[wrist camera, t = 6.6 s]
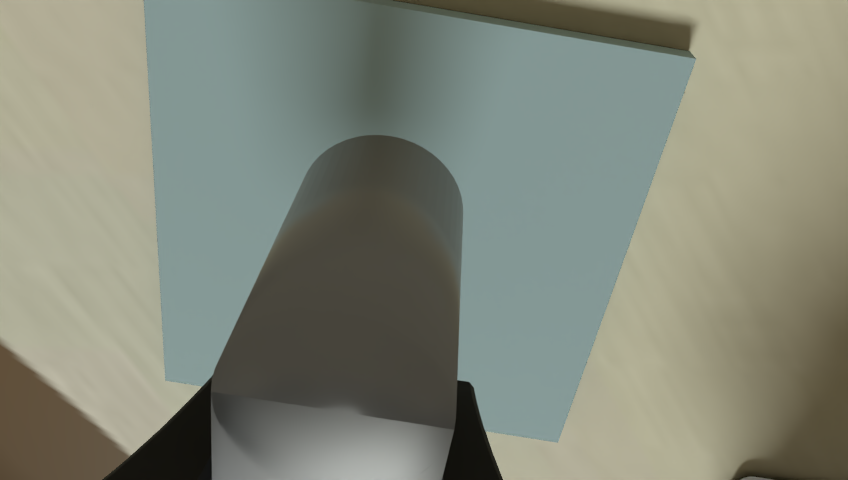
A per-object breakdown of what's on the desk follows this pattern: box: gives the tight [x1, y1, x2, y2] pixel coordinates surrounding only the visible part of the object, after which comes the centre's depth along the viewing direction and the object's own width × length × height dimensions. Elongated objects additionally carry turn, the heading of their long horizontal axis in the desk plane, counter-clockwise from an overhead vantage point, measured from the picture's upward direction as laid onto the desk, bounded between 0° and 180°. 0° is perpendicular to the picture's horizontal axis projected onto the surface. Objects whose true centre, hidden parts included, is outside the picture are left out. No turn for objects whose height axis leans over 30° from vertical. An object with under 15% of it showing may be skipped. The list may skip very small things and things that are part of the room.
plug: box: [211, 135, 463, 480], centre depth 13 cm, size 3×11×5 cm, turn 172°
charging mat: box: [144, 0, 696, 443], centre depth 20 cm, size 13×13×1 cm
